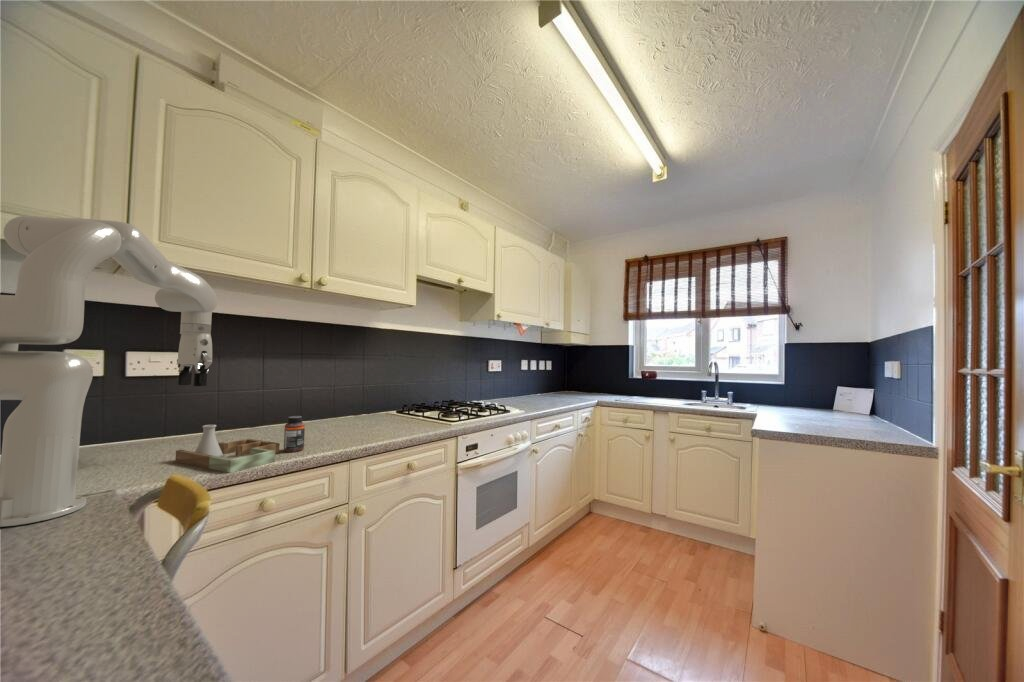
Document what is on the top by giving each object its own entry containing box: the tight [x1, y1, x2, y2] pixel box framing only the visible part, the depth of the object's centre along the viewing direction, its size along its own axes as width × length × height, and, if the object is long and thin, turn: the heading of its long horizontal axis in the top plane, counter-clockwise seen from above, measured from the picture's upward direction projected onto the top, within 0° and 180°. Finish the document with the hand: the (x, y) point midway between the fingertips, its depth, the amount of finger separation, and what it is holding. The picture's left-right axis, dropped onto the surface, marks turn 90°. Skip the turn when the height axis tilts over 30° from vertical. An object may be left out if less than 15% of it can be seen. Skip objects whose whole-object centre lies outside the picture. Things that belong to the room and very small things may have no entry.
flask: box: [194, 424, 224, 457], centre depth 114 cm, size 7×7×10 cm
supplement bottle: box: [283, 415, 306, 453], centre depth 125 cm, size 6×6×11 cm
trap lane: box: [174, 438, 280, 474], centre depth 113 cm, size 20×25×3 cm
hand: (192, 385), depth 118 cm, fingers open, 7 cm apart
